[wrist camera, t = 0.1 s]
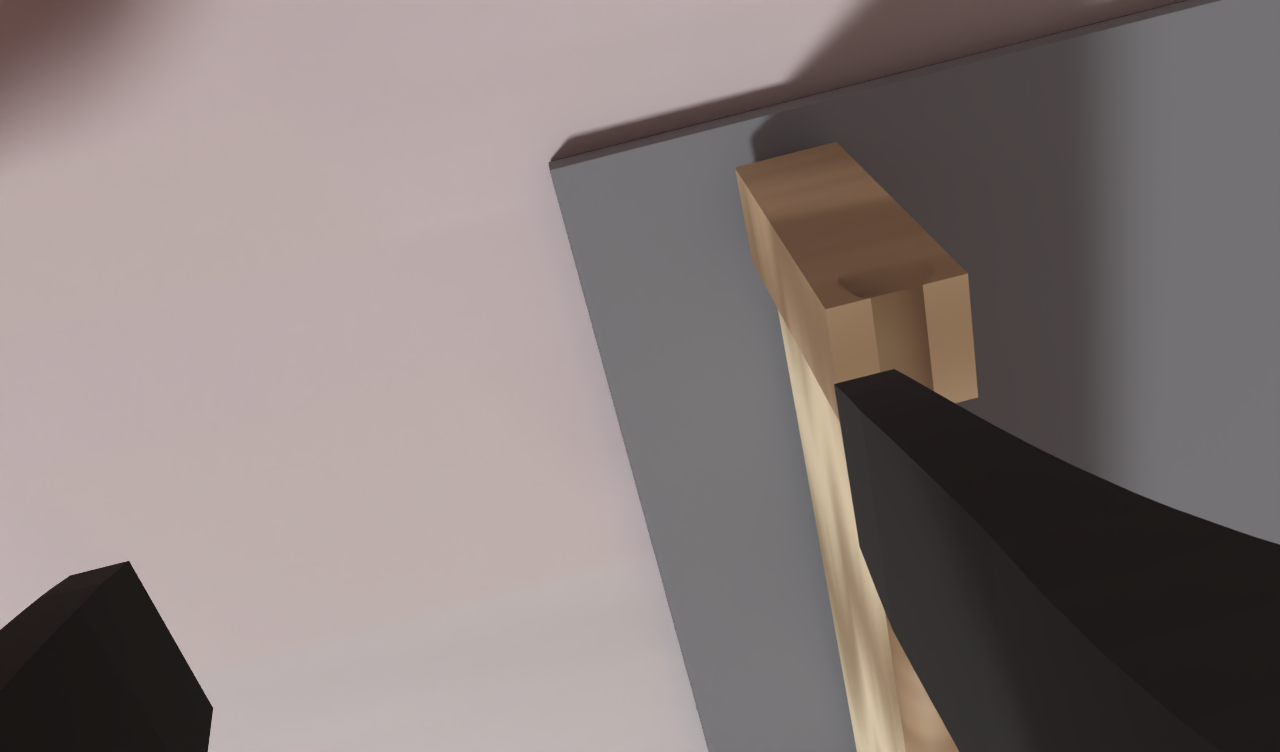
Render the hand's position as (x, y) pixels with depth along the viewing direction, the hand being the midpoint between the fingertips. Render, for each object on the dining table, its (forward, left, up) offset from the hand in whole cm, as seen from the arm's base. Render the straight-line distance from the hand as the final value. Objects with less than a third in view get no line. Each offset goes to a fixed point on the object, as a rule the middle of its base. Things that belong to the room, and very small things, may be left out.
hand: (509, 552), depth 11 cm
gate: (-7, -5, -9) cm, 13 cm away
